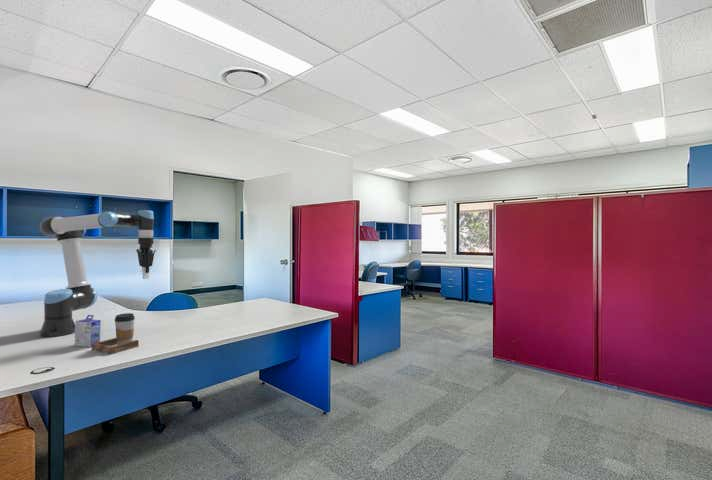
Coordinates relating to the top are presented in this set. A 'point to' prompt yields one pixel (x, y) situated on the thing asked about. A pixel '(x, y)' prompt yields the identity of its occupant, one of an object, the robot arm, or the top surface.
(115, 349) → the walnut bay
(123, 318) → the coffee cup
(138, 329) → the top surface
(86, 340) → the ink cartridge box
